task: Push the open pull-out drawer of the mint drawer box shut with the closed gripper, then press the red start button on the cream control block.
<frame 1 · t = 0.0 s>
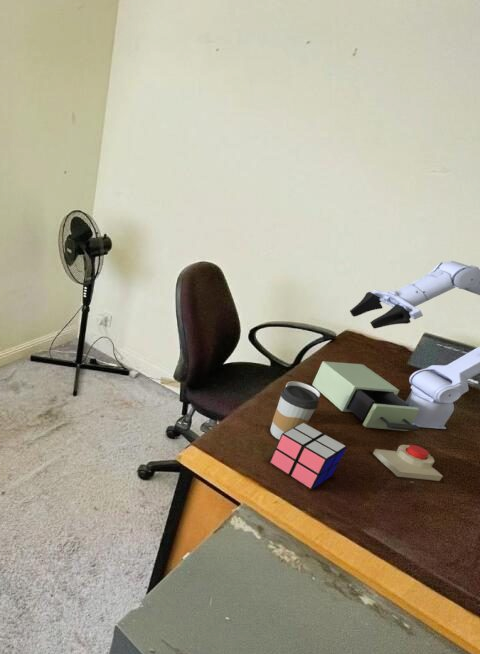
hand: (361, 319, 115), 32 cm above the table, tool tilted 50°, fingers open, 7 cm apart
mint drawer box: (346, 399, 134), on the table
pull-out drawer: (379, 408, 123), point 5 cm above the table, slide at 7.0 cm
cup: (291, 416, 126), on the table
coffee cup: (282, 436, 118), on the table
control block: (404, 466, 108), on the table
puzzle cube: (299, 469, 106), on the table
start button: (417, 452, 107), point 4 cm above the table, slide at 0.1 cm
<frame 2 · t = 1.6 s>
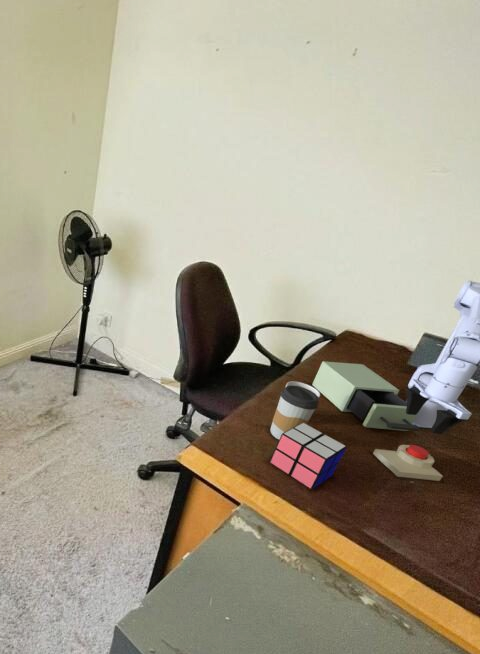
hand: (422, 423, 110), 9 cm above the table, tool pointing down, fingers open, 7 cm apart
nothing on the table moved.
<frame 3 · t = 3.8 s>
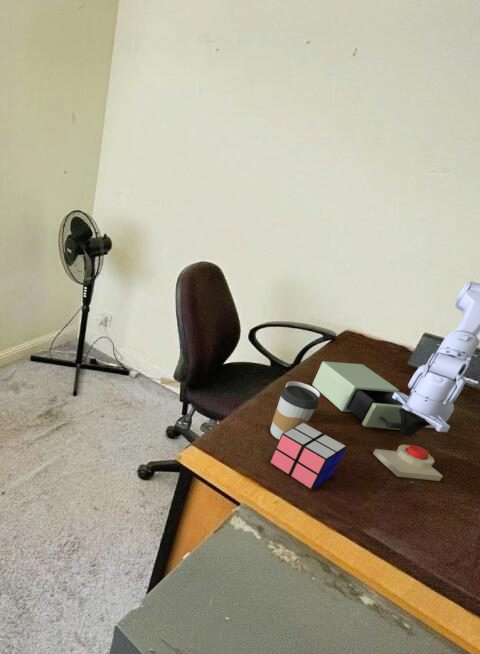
hand: (405, 434, 114), 3 cm above the table, tool pointing down, fingers closed
pull-out drawer: (378, 408, 123), point 5 cm above the table, slide at 6.7 cm, touching gripper
everything else where it was.
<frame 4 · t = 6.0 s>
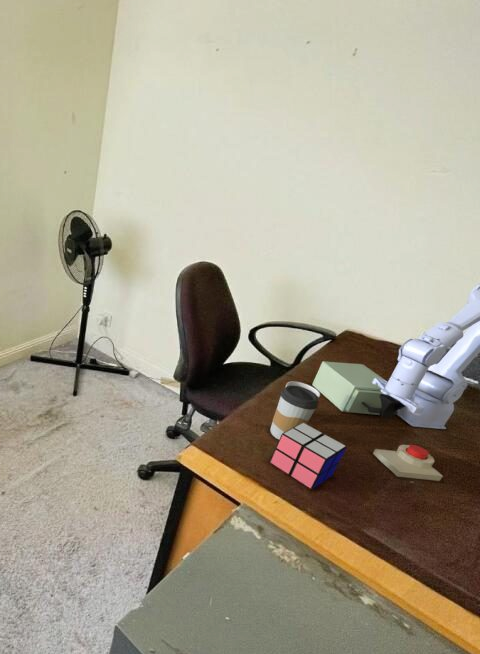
hand: (384, 417, 121), 3 cm above the table, tool pointing down, fingers closed, pressing on pull-out drawer
pull-out drawer: (361, 394, 129), point 5 cm above the table, slide at 0.0 cm, touching mint drawer box, gripper
everything else where it was.
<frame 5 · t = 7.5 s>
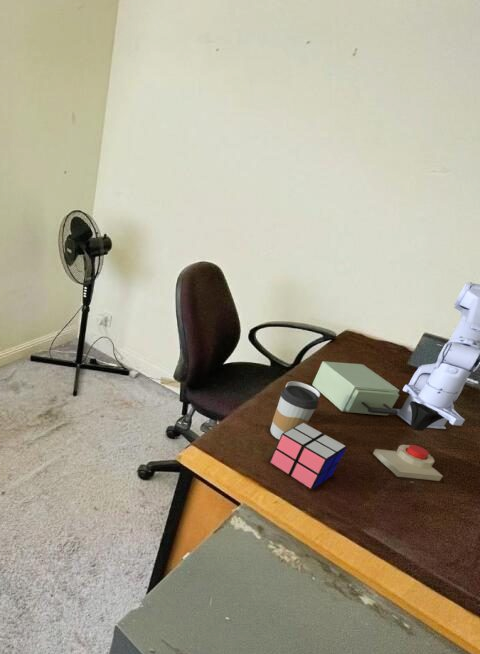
hand: (416, 428, 109), 8 cm above the table, tool pointing down, fingers closed
pull-out drawer: (361, 394, 129), point 5 cm above the table, slide at 0.0 cm, touching mint drawer box
everything else where it was.
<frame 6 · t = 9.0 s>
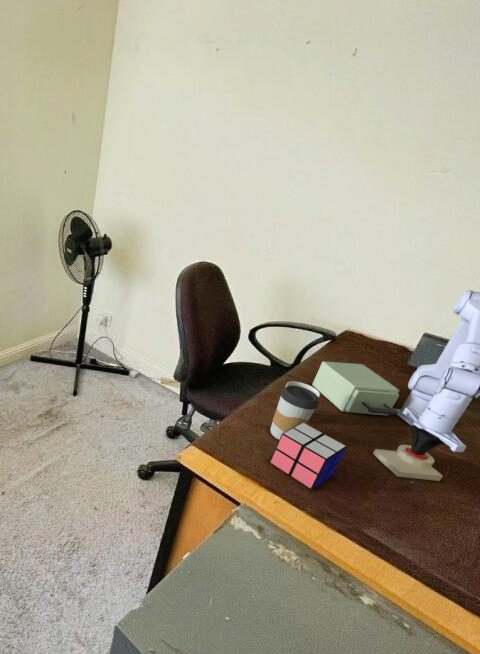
hand: (416, 453, 107), 4 cm above the table, tool pointing down, fingers closed, pressing on start button
start button: (415, 455, 108), point 3 cm above the table, slide at -1.0 cm, touching gripper
everything else where it was.
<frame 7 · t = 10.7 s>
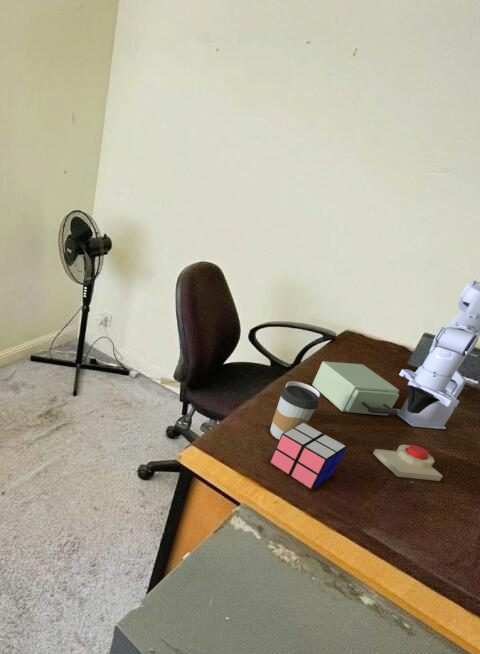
hand: (412, 411, 113), 10 cm above the table, tool pointing down, fingers closed
start button: (417, 452, 107), point 4 cm above the table, slide at 0.1 cm
everything else where it was.
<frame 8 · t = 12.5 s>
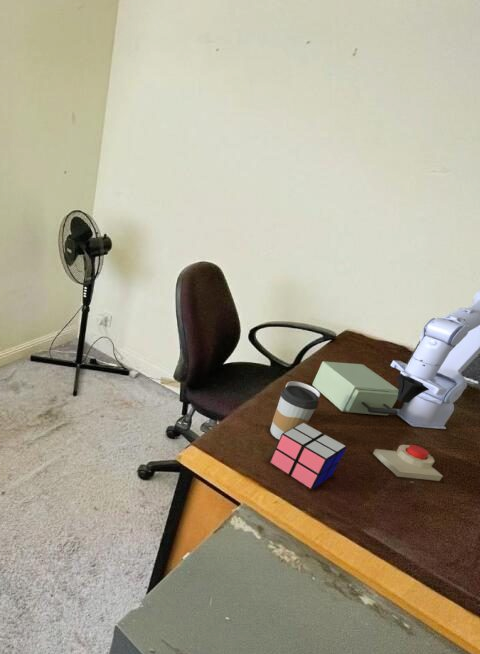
hand: (402, 401, 117), 10 cm above the table, tool pointing down, fingers closed
nothing on the table moved.
at the end: pull-out drawer slide at 0.0 cm; start button pushed in 1.2 cm at the most during the clip, back to where it started at the end; start button slide at 0.1 cm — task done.
